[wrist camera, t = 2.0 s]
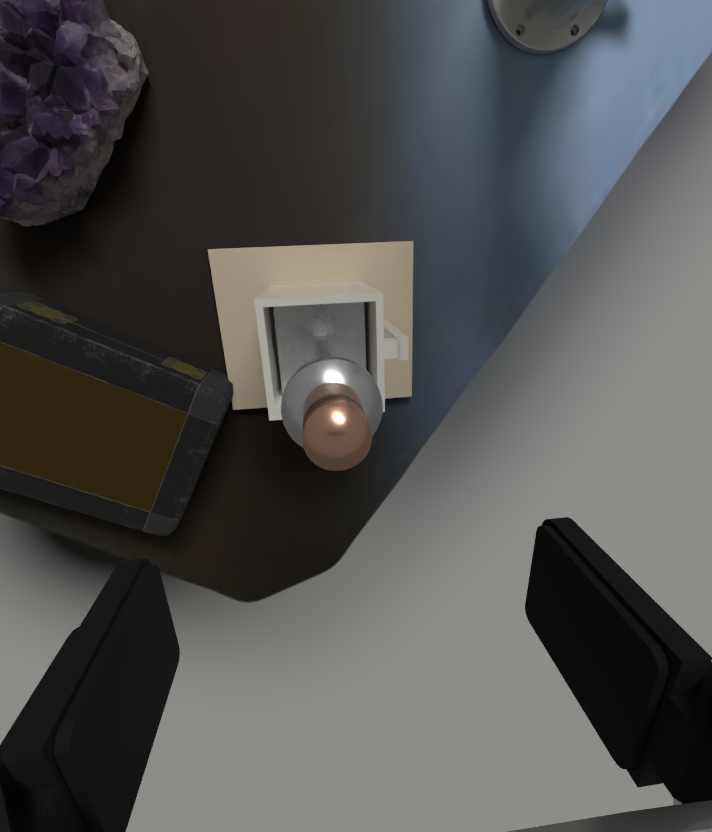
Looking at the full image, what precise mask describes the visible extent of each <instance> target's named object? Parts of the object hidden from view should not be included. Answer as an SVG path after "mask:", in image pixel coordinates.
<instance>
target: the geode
mask: <svg viewBox="0 0 712 832" xmlns="http://www.w3.org/2000/svg"><path fill="white" fill-rule="evenodd" d="M148 75H149V72H148V70H147V68H146V66H145V63H144V60H143V58H142V55H141V52H140V49H139V47H138V44H137V42H136V40H135V39H134V36H133V35H132V34H130V33H129V32H127V31H126V30H124V29H123V28H122V27H121V26H120V25H119V24H118V23H116V22H114V21H113V20H111V19H110V18H109V16H108V14H107V11H106V7H105V3H104V0H0V219H5V220H11V221H13V222H15V223H19V224H21V225H22V226H38V225H48V224H50V223H52V222H55V221H57V220H60V219H62V218H64V217H67V216H70V215H73V214H76V213H78V212H80V211H82V210H83V209H84V208H85V206H86V204H87V202H88V199H89V197H90V196H91V195H92V194H93V192H94V189H95V187H96V184H97V182H98V180H99V178H100V175H101V173H102V171H103V169H104V167H105V166H106V165H107V164H108V163H109V160H110V156H111V155H112V151H113V149H114V144H115V140H118V139H120V138H122V134H123V130H124V122H125V120H126V119H127V118H128V116H129V115H130V114H131V113H132V111H133V108H134V106H135V104H136V102H137V99H138V97H139V95H140V91H141V86H142V85H143V83H144V81H145V80H146V78H147V76H148Z"/></svg>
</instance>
